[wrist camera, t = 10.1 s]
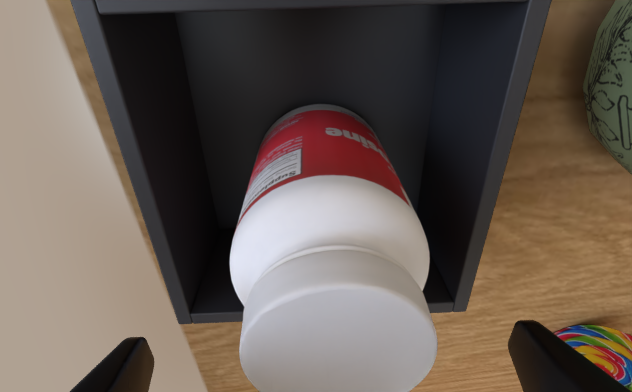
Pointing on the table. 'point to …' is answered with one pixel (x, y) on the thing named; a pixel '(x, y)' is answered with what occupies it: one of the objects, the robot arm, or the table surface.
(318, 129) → the pill bottle
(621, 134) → the green rounded hollow pot
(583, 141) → the table surface
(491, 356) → the table surface
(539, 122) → the table surface
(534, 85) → the table surface
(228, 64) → the bin
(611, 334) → the lollipop
